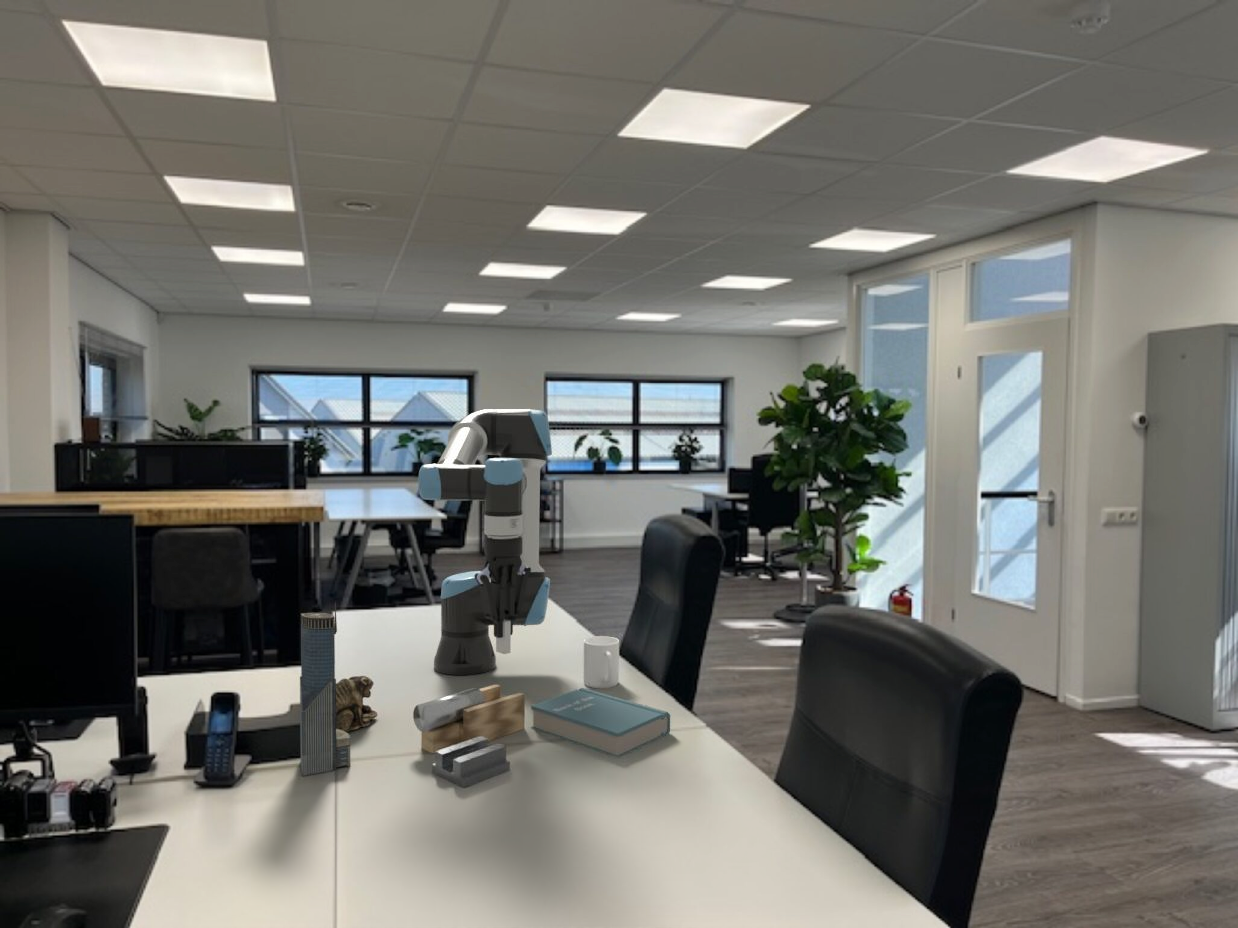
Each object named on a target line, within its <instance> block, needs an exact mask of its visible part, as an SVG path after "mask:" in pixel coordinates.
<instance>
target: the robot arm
mask: <svg viewBox="0 0 1238 928" xmlns="http://www.w3.org/2000/svg"><path fill="white" fill-rule="evenodd" d="M549 424H550V423H549V417H548V414H547V413H546V412H545V411H543V410H537V409H531V408H525V409H524V408H523V409H520V408H518V409H515V408H514V409H513V408H512V409H511V408H509V409H508V408H507V409H506V408H505V409H502V408H501V409H497V408H496V409H495V408H488V409H487V408H486V409H480V410H477V411H474V412H471V413H469V414H468V415H466V416H464V417H462V418H461V419H459V420H458V421H456V423H455V424H453V426H452V427H451V429H450V430H449V433H448V436H447V437H448V438H447V443H448V444H446V447H445V449H444V451H443V452H442V454H441V456H440V458H439V459H438V462H437V463H429V464H423V465H421V467H420V469H419V472H418V492H419V493H418V494H419V495H420V498H421V499H423V500H426V501H427V500H428V501H436V502H441V501H445V502H446V501H477V502H478V501H482V502H483V501H484V516H483V517H484V521H483V522H484V525H483V526H484V528H483V529H484V530H483V533H484V534H485V535H486V536H485V537H484V538H483V539H484V541H483V542H484V545H483V546H484V555H485V558H486V560H485V563H484V569H483V570H474V571H466V572H460V573H456V574H453V575H450V576H448V577H446V578H444V580H443V581H442V583H441V591H440V592H441V593H440V600H441V601H440V602H441V603H440V605H441V606H440V607H441V608H440V609H441V610H440V612H441V613H440V614H441V615H440V619H441V620H440V625H441V626H440V629H441V630H440V633H441V635H440V640H439V643H438V645H437V649H436V653H435V656H434V658H433V669H434V670H435V671H437V672H439V673H441V674H443V675H444V674H446V675H452V676H453V675H454V676H468V675H477V674H481V673H486V672H489V671H491V670H493V669H494V668H495V667H496V666H497V663H496V661H497V659H496V658H497V657H496V653H498V654H499V653H500V654H502V655H508V654H511V652H512V651H511V647H512V646H511V645H512V643H511V641H512V640H511V636H512V635H513V633H514V626H524V627H526V626H537V625H538V626H539V625H541V624H542V623H543V622H544V620H545V618H546V614H547V608H548V602H549V597H550V596H549V595H550V590H551V589H550V586H551V585H550V584H551V579H550V578H549V577H548V576H547V577H545V576H546V574H545V573H546V570H545V569H544V568H543V567H542V566H541V565H540V560H539V559H540V501H541V500H540V498H541V497H540V493H541V491H540V490H541V489H540V488H541V483H540V482H541V480H540V479H541V469H542V468H543V467H544V465H545V464H547V457H550V456H552V455H553V450H552V441H551V431H550V425H549ZM482 455H489V456H490V455H491V456H499V457H493V458H492V457H491V458H488V459H487V460H485V462H484V464H476V462H477V459H478V457H480V456H482ZM490 626H493V636H494V638H495V651H496V653H495V651H494V646H493V644H492V641H491V639H490V638H491V637H490V634H489V629H490V628H489V627H490Z"/></svg>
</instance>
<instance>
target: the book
mask: <svg viewBox="0 0 1238 928" xmlns="http://www.w3.org/2000/svg"><path fill="white" fill-rule="evenodd" d="M530 710H532V711H533V712H532V713H533V719H532V720H533V722H532V723H533V725H532V726H530V728H531V729H533V730H535V731H538V732H542V733H545V734H548V735H549V736H553V737H556V738H560V739H563V740H565V741H567V742H570V743H573V744H577V745H580V746H582V747H584V748H588V749H591V750H594V751H596V752H600V753H602V754H606V755H609V756H611V757H614V758H617V759H618V758H620V757H623V756H625V755H627V754H629V753H631V752H634V751H635V750H638V749H639V748H642V747H644V746H646V745H649V744H650V743H653V742H654V741H657V740H659V739H661V738H663V737H665V736H667V735H669V734H670V732H671V714H670V713H669V711H666V710H662V709H659V708H655V707H651V706H648V705H644V704H641V703H637V702H634V701H630V700H627V699H623V698H619V697H616V696H614V695H610V694H609V695H608V694H606V693H602V692H598V691H595V690H591V689H588V688H585V687H580V688H579V689H574V690H572V691H569V692H566V693H562V694H561V695H557V696H554V697H552V698H549V699H546V700H543V701H541V702H538V703H535V704H533V705H531V706H530Z"/></svg>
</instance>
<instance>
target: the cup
mask: <svg viewBox="0 0 1238 928" xmlns="http://www.w3.org/2000/svg"><path fill="white" fill-rule="evenodd" d="M582 677H583V683H584V685H586V686H587V687H589V688H593V689H609V688H614V687H615V686H616V687H617V685H618V684H619V679H620V678H619V677H620V640H619V638H617V637H612V636H605V635H599V636H598V635H597V636H595V635H594V636H589V637H587V638H585V639H583V676H582Z"/></svg>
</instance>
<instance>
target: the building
mask: <svg viewBox="0 0 1238 928" xmlns="http://www.w3.org/2000/svg"><path fill="white" fill-rule="evenodd" d="M336 604H337V603H336V602H335V603H334V615H333V614H331V613H326V612H307V613H306V612H305V613H300V662H301V663H300V669H301V671H300V672H301V673H300V674H301V675H300V676H299V700H300V701H299V706H300V707H299V711H300V712H299V715H300V717H299V718H300V720H299V722H300V725H299V726H300V727H299V729H300V736H299V737H300V769H301V777H307V776H312V775H313V776H314V775H318V774H323V773H324V774H325V773H329V772H333V771H336V770H337V769H342V768H343V769H344V768H350V767H351V736H350V734H349V733H348V731H343V730H339V729H336V683H337V679H336V678H335V673H336V672H335V670H336V669H335V668H336V666H335V665H336V664H335V663H336V661H335V657H336V655H335V653H336V652H335V635H336V634H337V632H338V627H337V625H338V623H337V606H336Z"/></svg>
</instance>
